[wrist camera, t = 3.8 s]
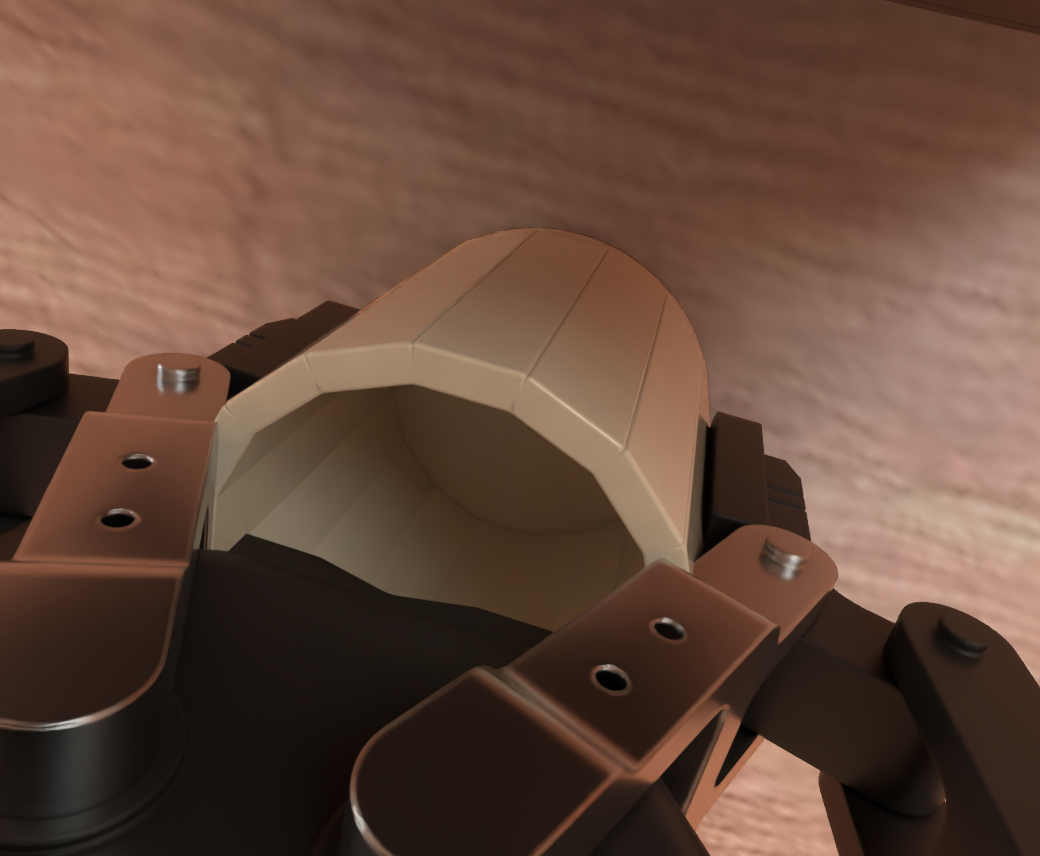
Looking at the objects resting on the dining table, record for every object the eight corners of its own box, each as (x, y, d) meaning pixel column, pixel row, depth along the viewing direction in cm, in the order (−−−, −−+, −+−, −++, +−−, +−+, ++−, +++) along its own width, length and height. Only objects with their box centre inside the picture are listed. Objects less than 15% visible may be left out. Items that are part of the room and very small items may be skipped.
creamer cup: (362, 487, 17) (168, 714, 11) (408, 187, 14) (186, 277, 8) (654, 577, 16) (611, 869, 10) (756, 280, 14) (775, 445, 8)
